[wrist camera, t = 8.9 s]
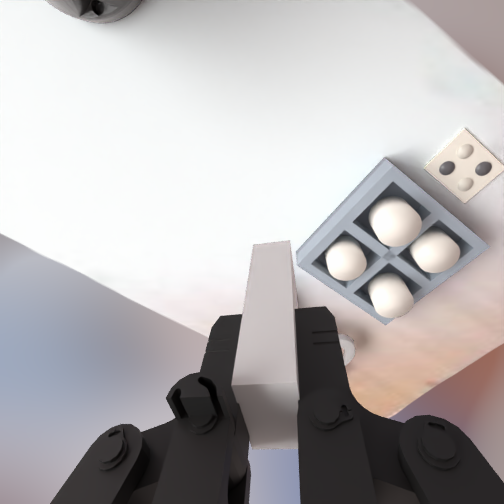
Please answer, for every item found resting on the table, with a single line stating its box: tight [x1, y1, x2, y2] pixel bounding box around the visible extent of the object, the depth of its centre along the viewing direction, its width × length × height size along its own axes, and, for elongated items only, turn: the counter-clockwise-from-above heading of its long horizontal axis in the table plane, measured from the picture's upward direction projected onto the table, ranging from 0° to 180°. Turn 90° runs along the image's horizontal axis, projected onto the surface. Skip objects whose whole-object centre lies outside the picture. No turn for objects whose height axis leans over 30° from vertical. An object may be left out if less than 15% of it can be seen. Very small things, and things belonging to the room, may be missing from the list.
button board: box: [296, 158, 490, 325], centre depth 45 cm, size 18×18×4 cm
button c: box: [369, 196, 422, 247], centre depth 39 cm, size 5×5×4 cm
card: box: [424, 129, 504, 204], centre depth 40 cm, size 8×6×1 cm
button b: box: [368, 272, 414, 318], centre depth 45 cm, size 5×5×4 cm
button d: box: [325, 236, 367, 281], centre depth 44 cm, size 5×5×4 cm
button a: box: [407, 226, 460, 273], centre depth 43 cm, size 5×5×4 cm
